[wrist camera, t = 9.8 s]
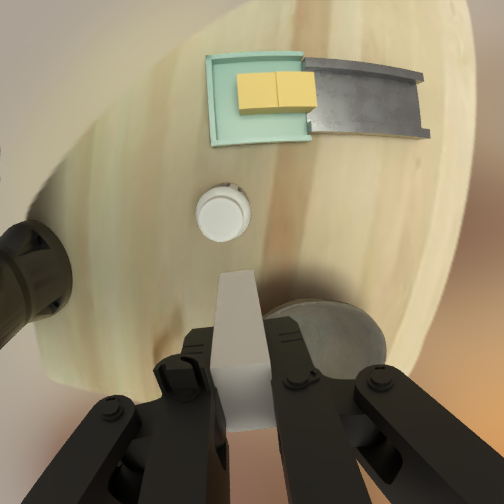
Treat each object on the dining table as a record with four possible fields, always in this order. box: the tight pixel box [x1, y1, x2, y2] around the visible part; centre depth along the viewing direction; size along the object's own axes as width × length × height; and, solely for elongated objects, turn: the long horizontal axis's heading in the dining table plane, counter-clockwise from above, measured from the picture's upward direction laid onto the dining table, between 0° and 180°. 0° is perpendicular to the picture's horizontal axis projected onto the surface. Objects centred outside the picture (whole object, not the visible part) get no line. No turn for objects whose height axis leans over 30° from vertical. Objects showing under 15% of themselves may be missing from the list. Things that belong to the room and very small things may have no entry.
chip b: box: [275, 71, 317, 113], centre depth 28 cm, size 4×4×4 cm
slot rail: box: [301, 57, 430, 139], centre depth 30 cm, size 16×9×3 cm, turn 94°
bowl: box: [262, 299, 386, 379], centre depth 35 cm, size 19×19×10 cm
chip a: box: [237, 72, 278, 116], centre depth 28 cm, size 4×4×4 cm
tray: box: [206, 51, 312, 147], centre depth 30 cm, size 11×11×2 cm
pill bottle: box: [195, 183, 251, 242], centre depth 30 cm, size 5×5×10 cm
